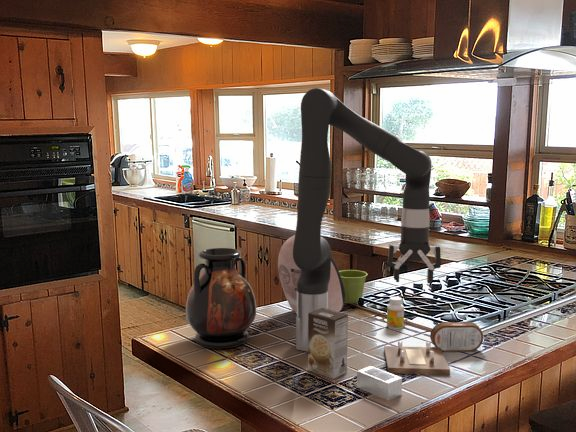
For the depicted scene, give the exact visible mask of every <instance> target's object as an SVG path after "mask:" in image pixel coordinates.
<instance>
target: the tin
mask: <svg viewBox="0 0 576 432" xmlns="http://www.w3.org/2000/svg"><path fill="white" fill-rule="evenodd" d="M429 337H430V338H429V339H430V343H431V344H432V345H433V346H434V347H438V348H441V350H442V352H445V353H446V352H451V353H452V352H453V353H455V352H460V353H461V352H474V351H476V350H478V349H479V348H481V345H482V344H483V342H484V334H483V331H482V329H481V328H480V326H479V325H477V324H476V323H475V322H471V321H456V322H455V321H444V322H443V321H441V322H440V323H437V324H436V325H434V326H433V327H432V329H431V331H430V335H429Z"/></svg>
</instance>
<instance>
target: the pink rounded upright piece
mask: <svg viewBox="0 0 576 432" xmlns="http://www.w3.org/2000/svg"><path fill="white" fill-rule="evenodd" d="M294 239H295V234H294V235H292V236H290V237H288V238H287V240H286V241H284V243H283V244H282V245H281V248H280V250H279V254H278V260H277V269H278V275H279V280H280V284H281V287H282V289H283V290H282V291H283V293H284V296H285V299H286V300H287V303H288V305H289V307H290V308H291V309H292V311H293V312H294V313H295V314H297V281H298V279H299V277H300V274H301V269H299V268H298V267H297V265H296V264H295V262H294V259H293V245H294ZM339 271H340V270H339V268H338V265H337V263H336V261H335V259H334V257H333V256H332V255H331V273H330V281H329V284H328V309H329V310H333V311H336V312H340V311H342V309H343V308H344V306H345V298H346V294H345V288H344V284H343V281H342V278H341V276H340V273H339Z"/></svg>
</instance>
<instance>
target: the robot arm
mask: <svg viewBox="0 0 576 432" xmlns="http://www.w3.org/2000/svg"><path fill="white" fill-rule="evenodd" d="M300 118H301V119H300V121H301V123H300V124H301V146H300V157H299V169H298V170H299V171H298V187H297V188H298V189H297V190H298V192H297V193H298V194H297V212H296V213H297V215H296V227H295V233H294V235H295V239H294V245H293V259H294V262H295V264H296V265H297V267H298V268H299V269H301V274H300V277H299V279H298V281H297V313H296V317H295V334H296V335H295V339H296V340H295V343H296V345H295V349H296V350H297V351H302V352H307V353H308V313H310V312H313V311H315V310H318V309H320V308H325V309H328V284H329V281H330V273H331V256H332V251H331V250H332V249H331V246H330V244H329V242H328V240H327V239H326V238H324V237H323V236H322V235H321V231H322V230H321V229H322V223H323V218H324V215H325V213H326V209H327V205H328V204H329V199H330V195H331V187H332V163H331V156H330V151H329V145H328V142H329V141H328V140H329V139H328V136H329V128H330V127H329V126H331V127H335V128H336V129H338V130H341V131H342V132H344V133H345V134H347V135H348V136H350V137H351V138H352V139H353V140H355V141H356V142H357V143H358V144H360V145H361V146H363V147H364V148H365V149H367V150H368V151H370V152H371V153H373V154H374V155H376V156H378V157H379V158H382V159H383V160H385V161H387V162H388V163H390V164H391V165H393V166H394V167H395V168H397V170H399V171H401V173H403V174H405V185H404V189H403V193H402V212H401V217H400V218H401V220H400V243H399V245H398V244H397V245H395V244H393V243H390V244H389V245H388V253H387V254H388V255H387V263H386V264H387V266H388V267H390V268H393V279H394V280H395V282H396V283H399V282H400V267H401V266H402V265H403V264H404V263H405V261H408V262H421V261H423V262H424V263H425V265H426V266H427V271H426V282H427V284H432V283H431V282H433V281H434V271H435V270H436V269H440V268H441V264H442V262H441V261H442V260H441V259H442V258H441V257H442V256H441V247H440V246H439V245H437V244H436V245H433V246H432V245H430V243H429V241H430V218H431V217H430V185H431V184H430V183H431V177H432V175H431V174H432V160H431V157H430V156H429V154H428V153H427V152H425V151H423V150H418V149H416V148H414V147H412V146H410V145H409V144H408V143H407V144H406V143H405V142H403V140H402V139H401V138H399V137H398V136H397V135H395V134H393V133H391V132H390V131H389V130H386V129H385V128H383V127H381V126H379V125H378V124H376V123H375V122H372V121H370V120H369V119H367V118H365V117H363V116H362V115H360V114H359V113H357V112H355V111H354V110H352V109H351V108H350V107H348V106H347V105H345V103H343V102H342V101H341V100H340V99H339V98H338V97H337V96H336V95H335V94H334V93H332V92H331V91H329V90H328V89H323V88H320V87H318V88H317V87H316V88H312V89H309V90H308V91H307V92H305V94H303V96H302V98H301V102H300ZM398 250H399V252H400V253H401V255H400V256H399V257H398V258H397V260H396V261H395V262H394V254H396V253H397V251H398ZM430 252H431V253H432V254H433V255H434V262H433V263H432V262H431V260H430V259H429V258H428V256H427V255H428V254H429V253H430Z"/></svg>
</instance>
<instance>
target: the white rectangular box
mask: <svg viewBox="0 0 576 432" xmlns="http://www.w3.org/2000/svg"><path fill="white" fill-rule="evenodd" d="M356 388H358V389H360V390H362V391H364V392H366V393H367V392H368V393H370V394H372V395H374V396H376V397H378V398H381V399H384V400H385V401H390V400H393V399H395V398H397V397H399V396H401V395H403V393H402V389H403V377H401V376H398V375H396V374H395V373H388V371H385V370H383V369H380V368H378V367H375V366H372V365H369V366H366V367H364V368H361V369H359V370H356Z"/></svg>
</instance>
